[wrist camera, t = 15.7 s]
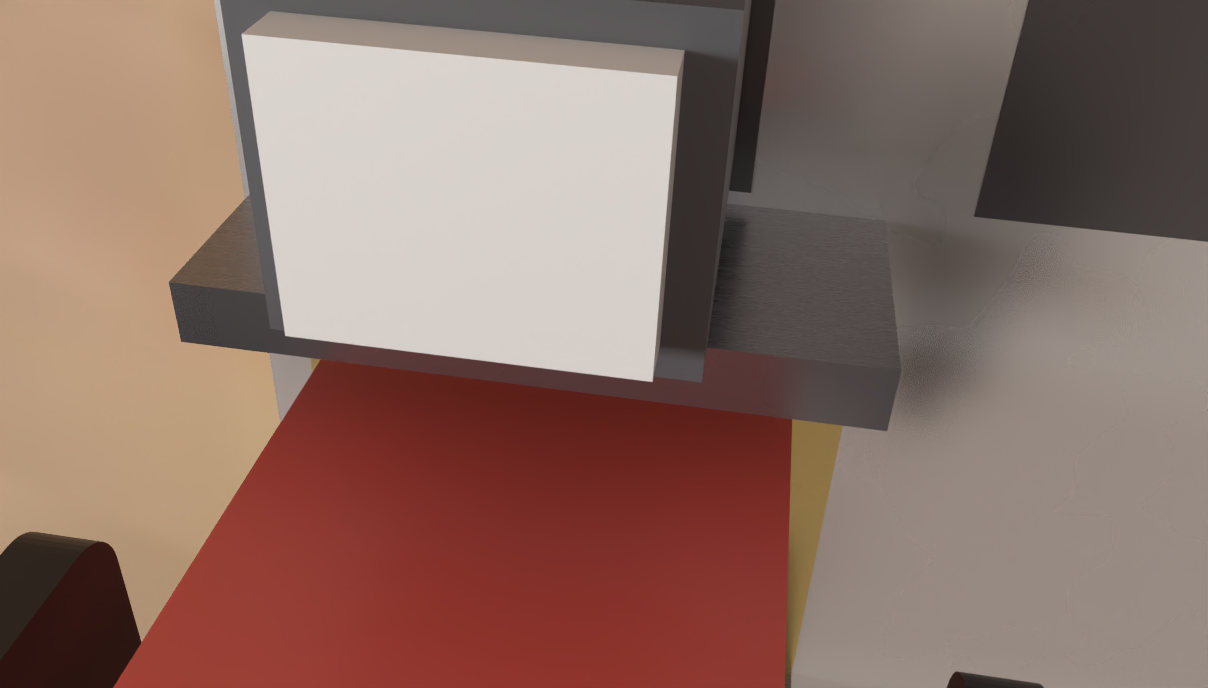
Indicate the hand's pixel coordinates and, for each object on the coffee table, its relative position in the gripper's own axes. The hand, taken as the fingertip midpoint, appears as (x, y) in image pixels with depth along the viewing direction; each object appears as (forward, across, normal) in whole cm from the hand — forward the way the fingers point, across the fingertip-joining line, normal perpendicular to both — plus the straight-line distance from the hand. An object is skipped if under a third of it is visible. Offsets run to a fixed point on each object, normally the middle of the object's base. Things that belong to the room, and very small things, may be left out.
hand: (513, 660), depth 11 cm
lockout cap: (+3, 0, 0) cm, 3 cm away
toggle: (+3, 0, -5) cm, 6 cm away
